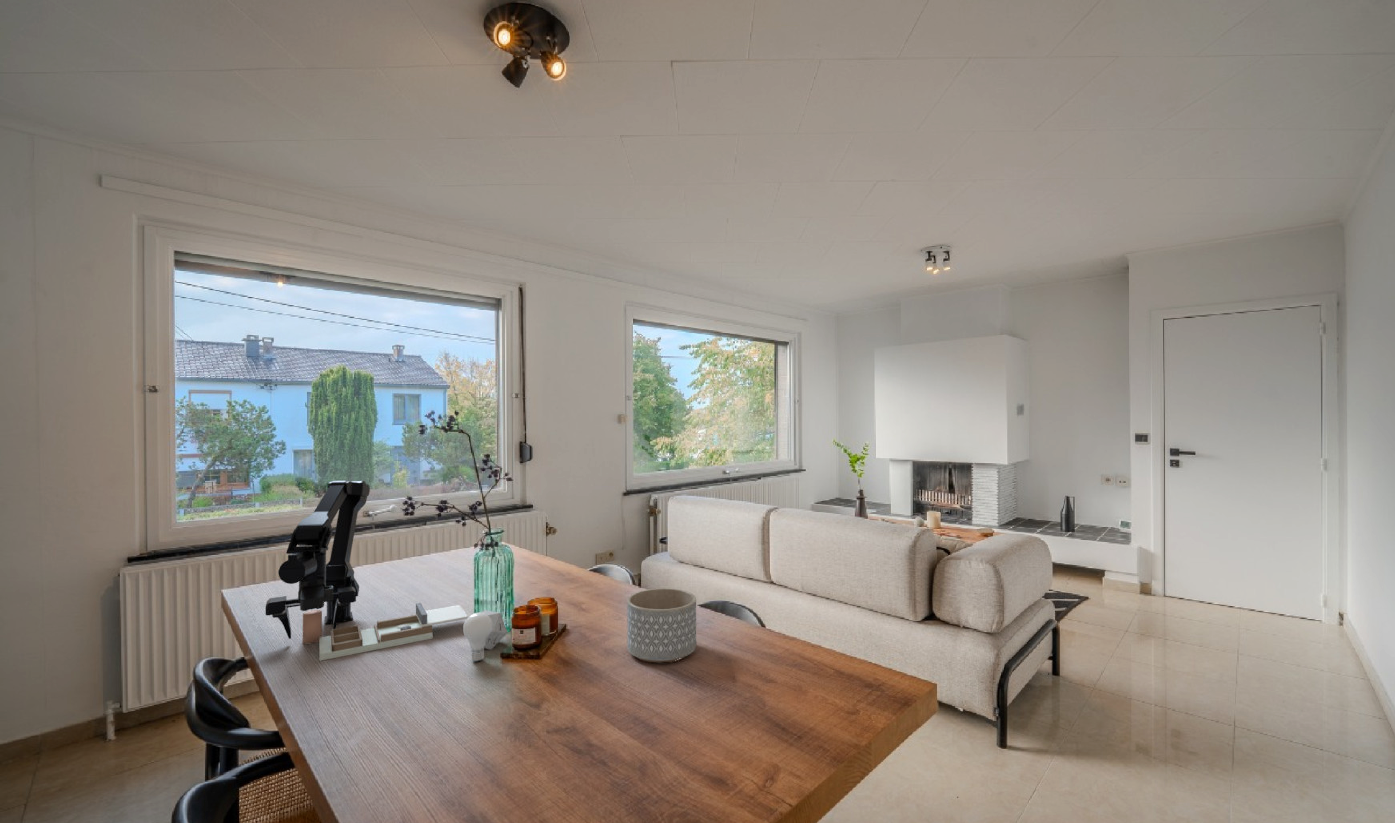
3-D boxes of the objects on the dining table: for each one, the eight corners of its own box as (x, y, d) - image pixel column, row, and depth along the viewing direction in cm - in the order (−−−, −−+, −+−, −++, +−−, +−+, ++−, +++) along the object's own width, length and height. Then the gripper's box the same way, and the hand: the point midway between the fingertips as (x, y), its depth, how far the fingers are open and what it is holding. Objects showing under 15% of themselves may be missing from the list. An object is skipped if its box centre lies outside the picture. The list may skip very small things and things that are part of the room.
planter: (665, 673, 126) (665, 615, 126) (613, 654, 136) (612, 600, 136) (709, 648, 139) (709, 596, 139) (658, 633, 149) (658, 584, 149)
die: (470, 659, 135) (497, 624, 135) (453, 632, 139) (478, 599, 140) (495, 659, 142) (520, 625, 142) (478, 634, 147) (502, 602, 147)
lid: (415, 614, 154) (415, 603, 154) (459, 606, 160) (459, 596, 160) (422, 627, 145) (422, 615, 145) (467, 618, 151) (467, 607, 151)
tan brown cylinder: (302, 639, 145) (302, 611, 145) (321, 636, 147) (321, 608, 147) (302, 644, 142) (302, 616, 142) (321, 641, 144) (321, 613, 144)
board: (319, 643, 142) (319, 631, 142) (425, 624, 156) (425, 612, 156) (319, 660, 132) (319, 647, 132) (432, 638, 146) (432, 626, 146)
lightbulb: (456, 663, 131) (456, 615, 131) (479, 653, 136) (479, 606, 136) (476, 669, 128) (476, 619, 128) (498, 658, 133) (498, 611, 133)
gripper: (263, 586, 133) (263, 653, 133) (357, 574, 143) (357, 636, 143) (267, 575, 142) (267, 638, 142) (354, 564, 152) (354, 623, 152)
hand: (312, 634), depth 144 cm, fingers open, 9 cm apart
